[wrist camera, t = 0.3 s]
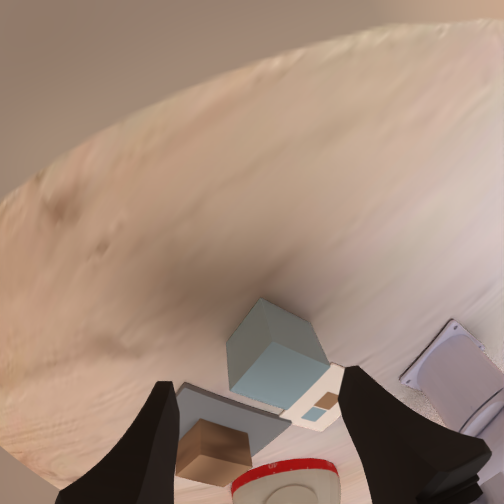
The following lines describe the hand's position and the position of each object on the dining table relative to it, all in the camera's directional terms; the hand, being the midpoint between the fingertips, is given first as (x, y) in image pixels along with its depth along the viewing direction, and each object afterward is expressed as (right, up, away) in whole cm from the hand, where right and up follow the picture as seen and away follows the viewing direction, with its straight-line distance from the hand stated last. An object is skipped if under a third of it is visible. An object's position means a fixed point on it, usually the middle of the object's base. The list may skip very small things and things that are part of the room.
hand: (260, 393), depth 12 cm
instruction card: (+6, -8, +14) cm, 17 cm away
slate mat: (-4, -12, +14) cm, 19 cm away
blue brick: (+1, 0, +11) cm, 11 cm away
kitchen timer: (+4, -24, +21) cm, 32 cm away
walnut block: (-4, -12, +14) cm, 19 cm away
